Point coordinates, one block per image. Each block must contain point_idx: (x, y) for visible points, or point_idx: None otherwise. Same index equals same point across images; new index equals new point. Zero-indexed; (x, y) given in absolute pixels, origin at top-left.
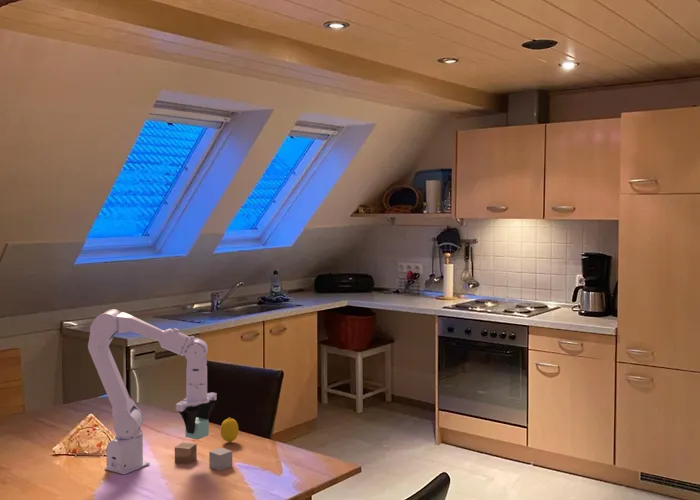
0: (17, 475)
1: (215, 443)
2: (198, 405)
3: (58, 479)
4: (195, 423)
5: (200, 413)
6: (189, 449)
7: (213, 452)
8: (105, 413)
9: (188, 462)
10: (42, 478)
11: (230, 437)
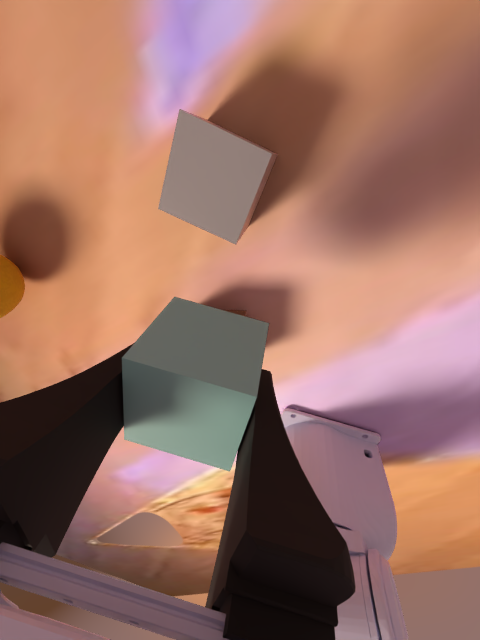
0: (400, 564)
1: (52, 310)
2: (55, 529)
3: (420, 521)
4: (251, 411)
5: (100, 447)
6: None
7: (241, 216)
8: (76, 530)
9: (244, 315)
10: (415, 539)
11: (4, 264)
